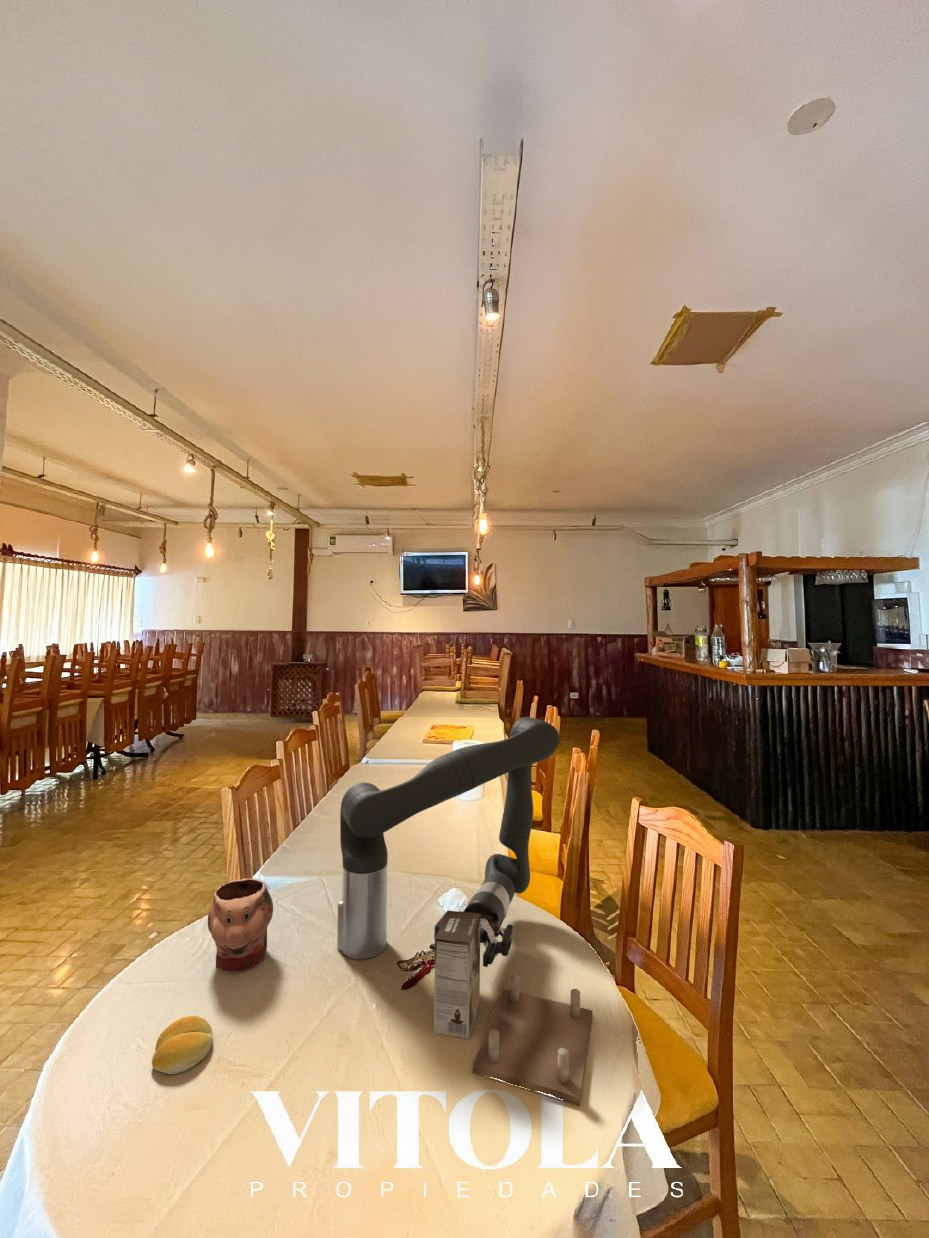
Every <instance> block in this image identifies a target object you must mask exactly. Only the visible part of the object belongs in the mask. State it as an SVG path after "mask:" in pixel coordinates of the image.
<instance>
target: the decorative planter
mask: <svg viewBox="0 0 929 1238" xmlns="http://www.w3.org/2000/svg"><path fill="white" fill-rule="evenodd" d="M273 915H274V903H273V899H272V896H271V894H270V893H269V890H268V888H267V884H266V883H265V882H264V881H263V880H262V879H259V878H245V877H244V878H242V879H236V880H231V881H229V882H226V883H224V884H221V885H220V886H219V887H218V888H217V889H216V890H215V891H214V894H213V898H212V904H211V905H210V907H209V910H208V913H207V929H208V931H209V933H210V934H211V937H212V940H213V941H214V943H215V946H216V954H215V968H216V969H218V970H219V971H220V972H222V973H223V972H224V973H239V972H243V971H247V970H250V969H252V968H255V967H256V966H258V965H259V964H261V963H262V962H263V960H264V959H265V957H266V954H267V950H268V927H269V924H270V923H271V922H272V921H271V920H272V918H273Z"/></svg>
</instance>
